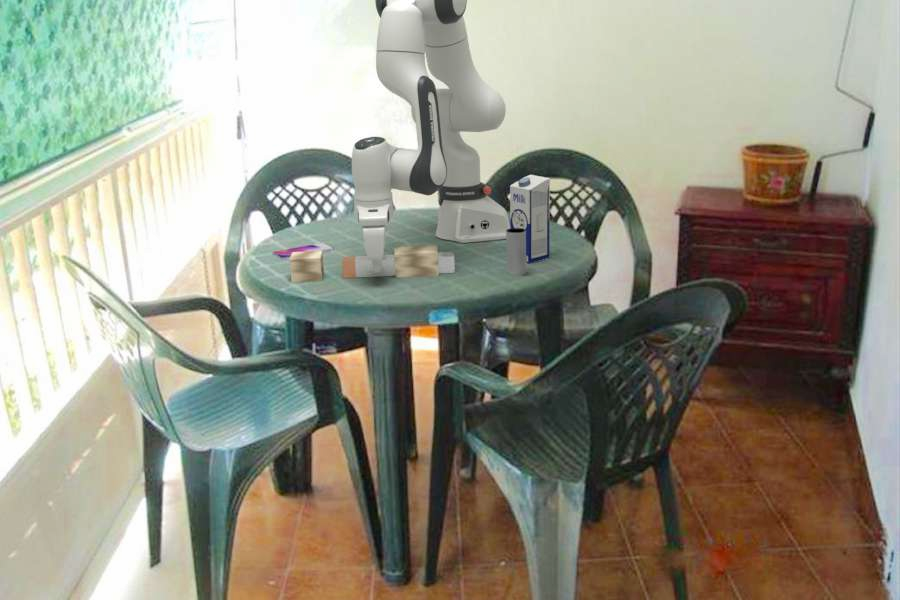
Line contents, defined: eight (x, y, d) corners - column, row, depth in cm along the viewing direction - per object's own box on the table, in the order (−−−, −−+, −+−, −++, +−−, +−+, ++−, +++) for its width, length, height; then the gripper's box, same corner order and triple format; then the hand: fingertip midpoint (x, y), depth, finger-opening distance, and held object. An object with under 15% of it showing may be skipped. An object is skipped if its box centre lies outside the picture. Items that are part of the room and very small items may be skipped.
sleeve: (437, 268, 201) (436, 245, 199) (438, 275, 195) (437, 252, 193) (395, 270, 201) (394, 247, 199) (395, 277, 195) (394, 254, 193)
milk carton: (549, 258, 206) (550, 177, 200) (529, 263, 202) (529, 181, 196) (530, 252, 211) (530, 173, 205) (510, 257, 208) (509, 177, 201)
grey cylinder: (520, 277, 192) (520, 233, 189) (503, 274, 195) (502, 231, 191) (529, 271, 196) (529, 228, 193) (512, 269, 198) (511, 226, 195)
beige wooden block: (324, 273, 200) (322, 250, 198) (322, 281, 194) (320, 258, 192) (294, 274, 200) (292, 252, 198) (291, 283, 193) (289, 259, 192)
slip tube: (453, 267, 200) (453, 251, 199) (454, 272, 196) (454, 256, 195) (344, 273, 199) (342, 256, 198) (343, 278, 195) (341, 261, 194)
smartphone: (335, 248, 220) (281, 258, 212) (335, 251, 220) (282, 261, 213) (324, 242, 226) (271, 251, 218) (324, 245, 226) (271, 254, 218)
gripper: (361, 201, 202) (365, 256, 207) (358, 220, 183) (362, 281, 187) (388, 199, 202) (391, 255, 207) (387, 219, 183) (390, 280, 188)
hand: (377, 267), depth 197 cm, fingers closed on slip tube, 4 cm apart
